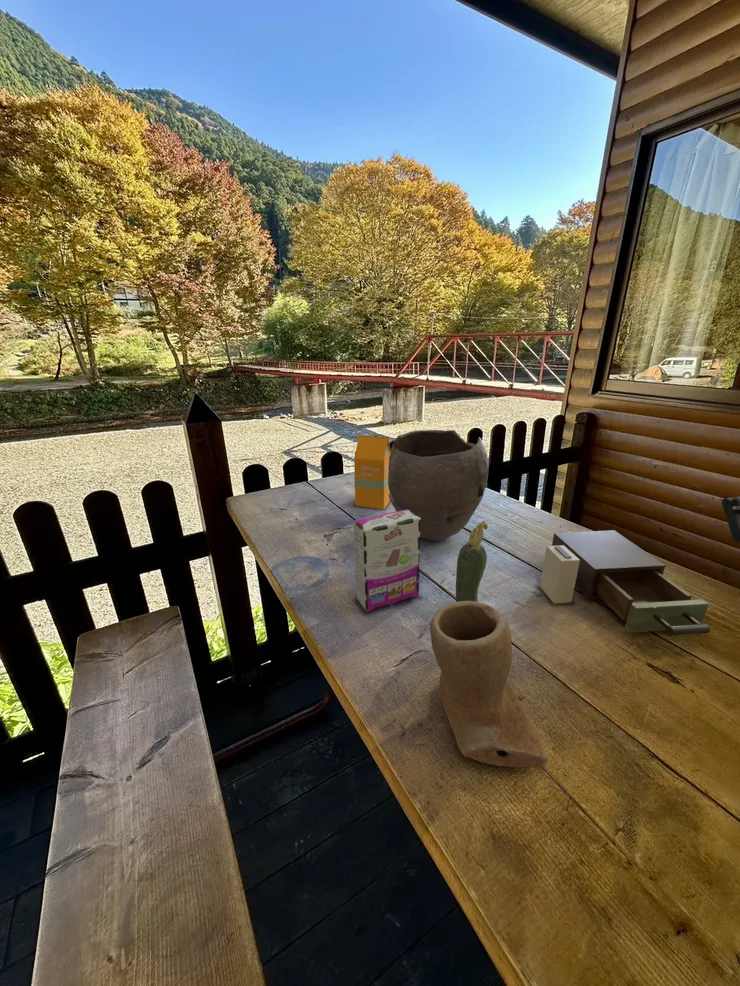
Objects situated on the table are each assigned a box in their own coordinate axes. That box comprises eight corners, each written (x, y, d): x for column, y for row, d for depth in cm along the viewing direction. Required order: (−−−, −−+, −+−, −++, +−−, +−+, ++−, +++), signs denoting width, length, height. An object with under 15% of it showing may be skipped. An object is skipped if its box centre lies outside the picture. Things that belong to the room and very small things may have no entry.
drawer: (723, 645, 63) (733, 620, 62) (648, 651, 62) (655, 625, 61) (642, 582, 80) (648, 560, 78) (582, 585, 79) (586, 563, 77)
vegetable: (451, 635, 67) (460, 525, 60) (452, 619, 71) (461, 514, 64) (478, 639, 66) (491, 528, 59) (478, 622, 70) (490, 516, 63)
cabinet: (656, 595, 77) (665, 565, 75) (588, 599, 76) (595, 569, 74) (608, 556, 91) (614, 530, 88) (549, 559, 90) (553, 532, 87)
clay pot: (490, 526, 105) (501, 430, 96) (466, 571, 85) (476, 456, 76) (404, 510, 116) (407, 422, 107) (365, 546, 96) (363, 442, 87)
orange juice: (384, 509, 116) (384, 440, 109) (354, 505, 119) (353, 438, 112) (391, 499, 123) (392, 434, 116) (363, 496, 126) (362, 432, 118)
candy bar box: (405, 583, 81) (408, 507, 76) (419, 597, 77) (422, 517, 71) (354, 598, 77) (352, 519, 71) (365, 613, 73) (364, 530, 67)
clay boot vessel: (418, 676, 59) (422, 588, 54) (498, 671, 60) (510, 584, 55) (444, 782, 45) (453, 678, 40) (548, 774, 46) (571, 671, 41)
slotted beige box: (556, 585, 80) (563, 543, 77) (571, 602, 75) (580, 558, 72) (539, 586, 80) (546, 544, 77) (553, 603, 75) (562, 559, 72)
